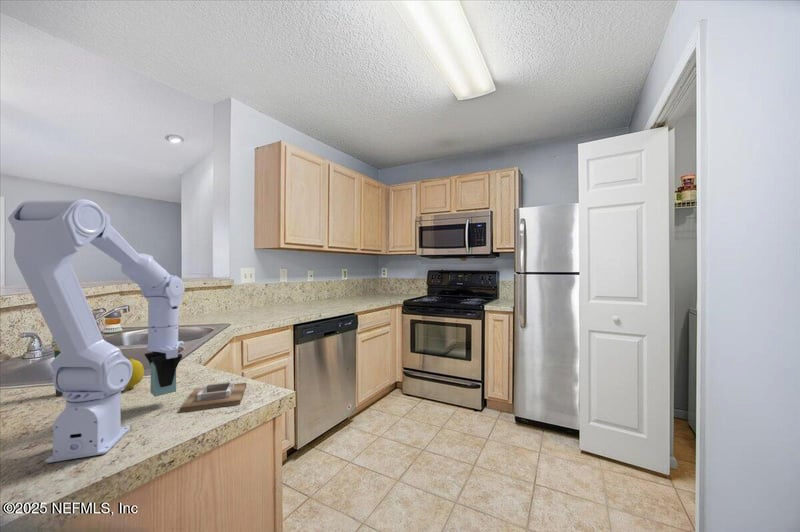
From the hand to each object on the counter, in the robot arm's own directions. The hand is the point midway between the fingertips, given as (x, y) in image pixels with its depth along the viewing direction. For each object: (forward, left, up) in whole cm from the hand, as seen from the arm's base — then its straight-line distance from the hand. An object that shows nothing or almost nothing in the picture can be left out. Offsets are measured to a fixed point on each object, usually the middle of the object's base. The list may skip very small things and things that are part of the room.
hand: (163, 383), depth 74 cm
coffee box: (+17, +24, -5) cm, 30 cm away
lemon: (+15, +12, -5) cm, 20 cm away
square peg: (0, 0, -2) cm, 2 cm away
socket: (0, -11, -5) cm, 12 cm away
